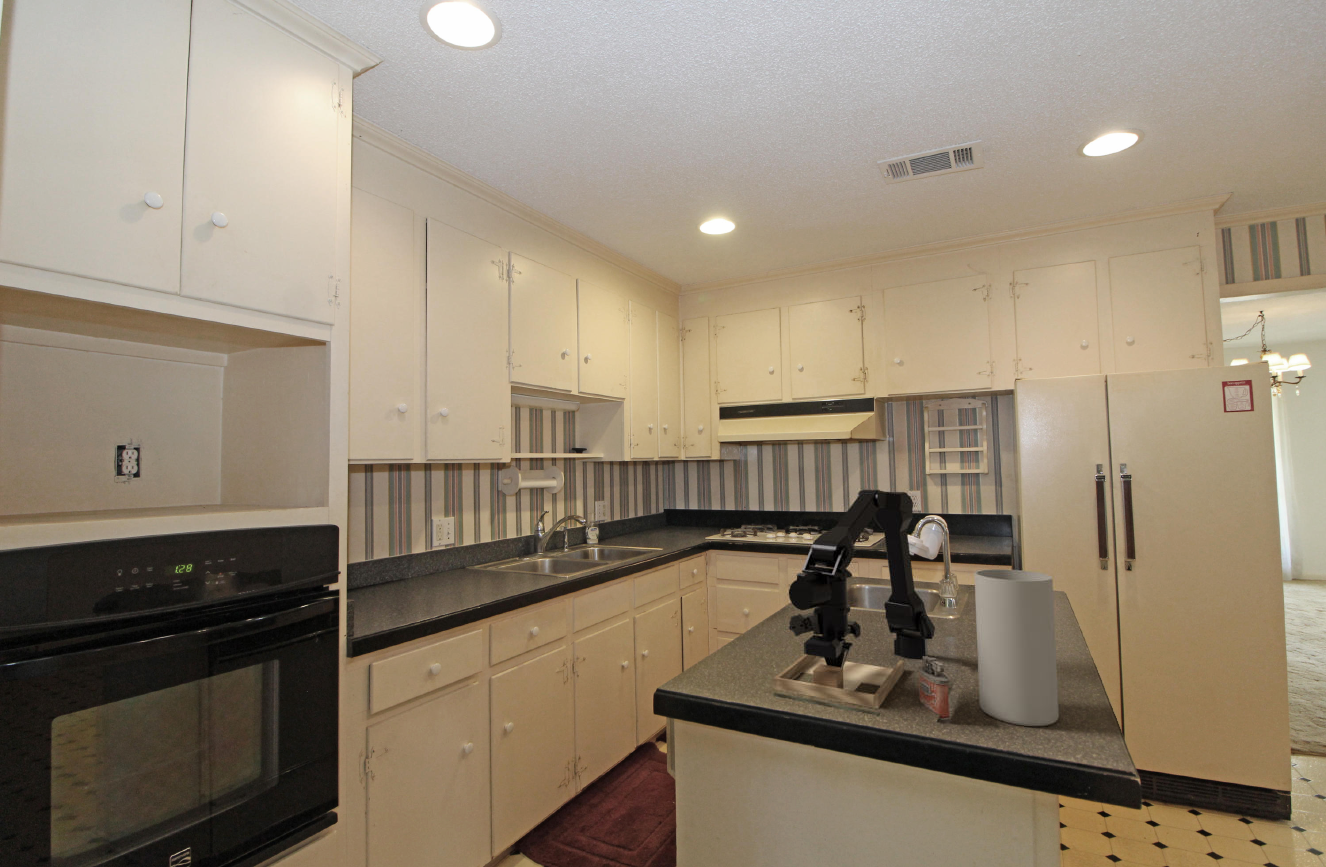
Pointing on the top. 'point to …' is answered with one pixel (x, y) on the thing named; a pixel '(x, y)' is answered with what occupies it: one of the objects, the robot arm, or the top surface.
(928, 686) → the lighter
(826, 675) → the block
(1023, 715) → the cylinder vase
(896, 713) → the top surface
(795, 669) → the box
